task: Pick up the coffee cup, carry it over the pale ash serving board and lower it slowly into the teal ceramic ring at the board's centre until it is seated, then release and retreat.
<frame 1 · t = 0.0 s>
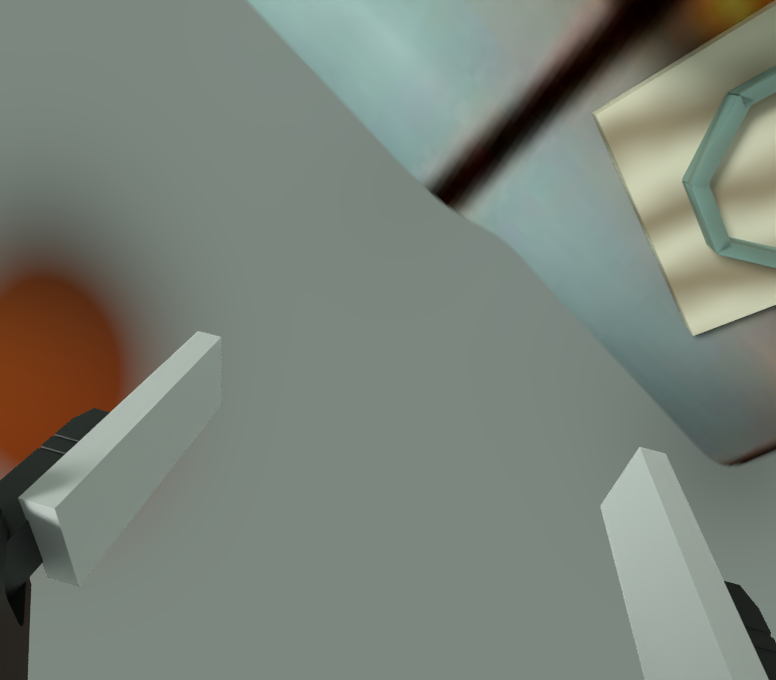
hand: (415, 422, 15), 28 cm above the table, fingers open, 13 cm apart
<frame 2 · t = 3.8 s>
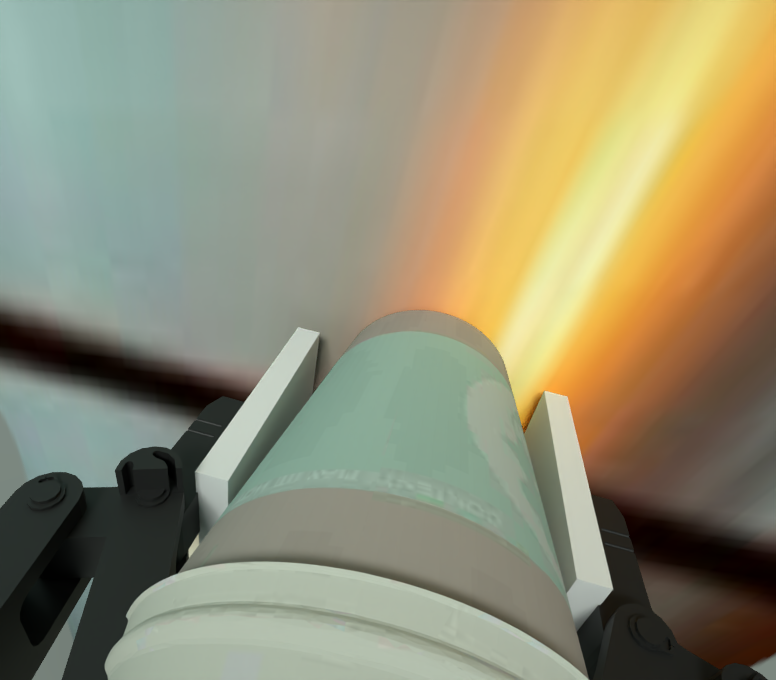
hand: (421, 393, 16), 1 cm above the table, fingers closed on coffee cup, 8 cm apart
coffee cup: (424, 378, 17), on the table, touching gripper
when the fingers open (3 cm above the table, at t = 9.1 s): coffee cup stays where it is, resting on serving board.
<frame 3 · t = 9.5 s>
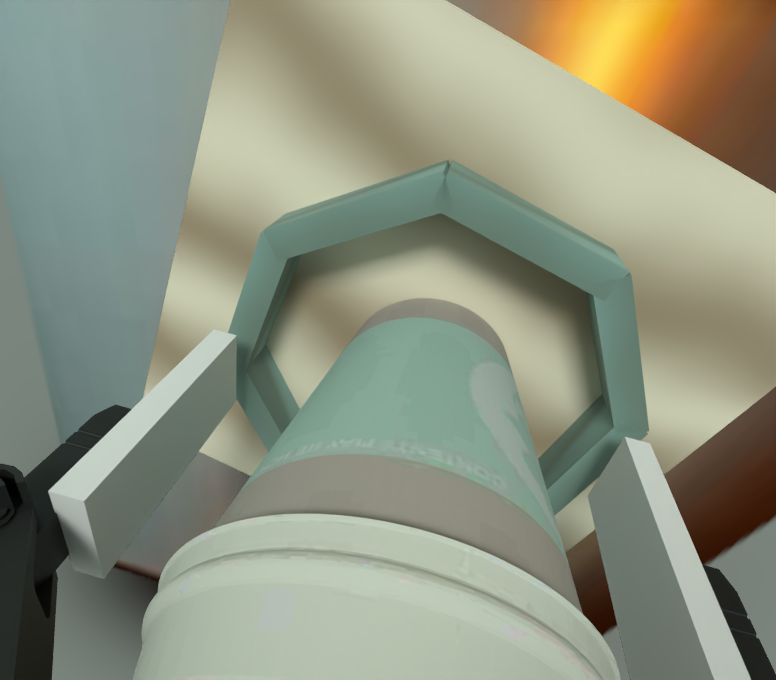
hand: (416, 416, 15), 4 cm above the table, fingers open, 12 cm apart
coffee cup: (428, 364, 17), point 1 cm above the table, touching serving board
serving board: (430, 345, 19), on the table
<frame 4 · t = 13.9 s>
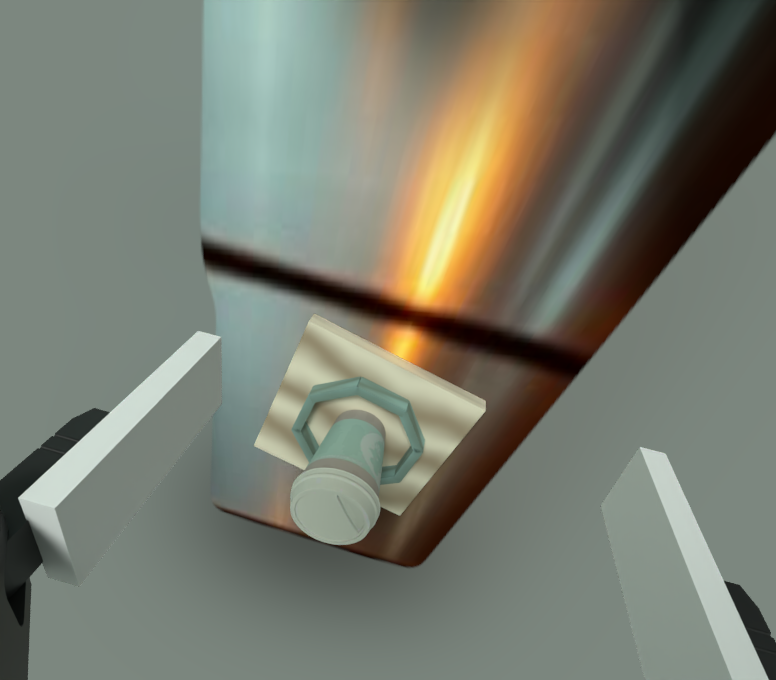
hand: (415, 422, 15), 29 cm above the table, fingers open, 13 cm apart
coffee cup: (360, 428, 52), point 1 cm above the table, touching serving board
serving board: (363, 420, 53), on the table
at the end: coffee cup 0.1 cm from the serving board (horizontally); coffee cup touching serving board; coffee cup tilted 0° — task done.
